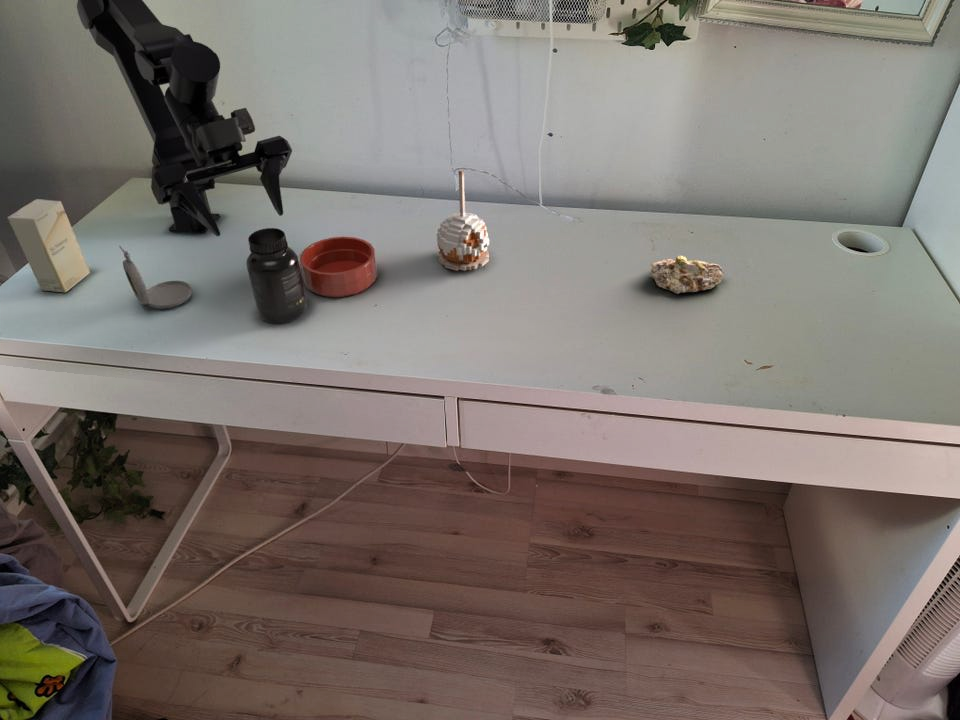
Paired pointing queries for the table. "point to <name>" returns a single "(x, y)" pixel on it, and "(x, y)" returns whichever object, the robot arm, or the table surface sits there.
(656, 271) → the mineral rock
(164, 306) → the pocket watch
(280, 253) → the supplement bottle
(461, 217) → the caramel apple
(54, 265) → the cosmetic box
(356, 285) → the bowl
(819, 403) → the table surface
